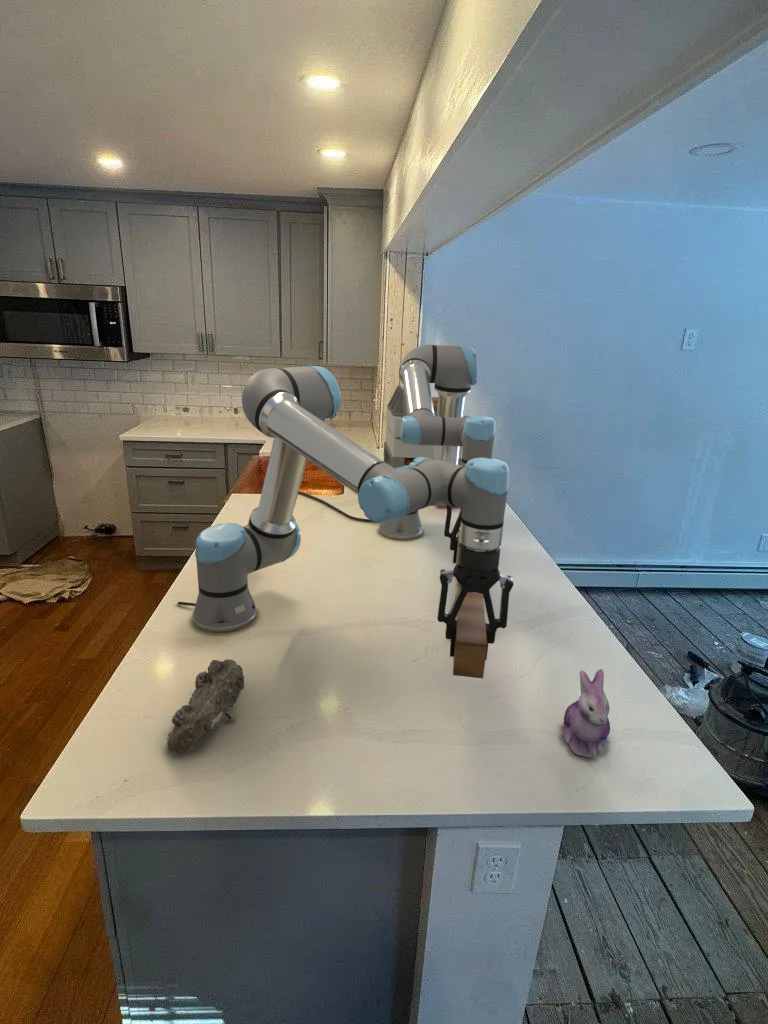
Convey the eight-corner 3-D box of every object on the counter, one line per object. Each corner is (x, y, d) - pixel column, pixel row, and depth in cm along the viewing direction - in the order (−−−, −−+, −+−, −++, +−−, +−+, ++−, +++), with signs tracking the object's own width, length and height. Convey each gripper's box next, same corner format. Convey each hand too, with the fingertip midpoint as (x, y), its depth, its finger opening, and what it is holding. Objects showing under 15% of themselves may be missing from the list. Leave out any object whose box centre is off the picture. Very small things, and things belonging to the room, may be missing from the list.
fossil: (192, 660, 117) (244, 628, 112) (224, 691, 120) (276, 661, 115) (142, 746, 98) (202, 712, 93) (182, 779, 101) (242, 748, 96)
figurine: (588, 767, 100) (602, 697, 95) (547, 730, 108) (559, 664, 103) (625, 751, 104) (641, 683, 99) (583, 716, 112) (596, 652, 107)
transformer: (382, 463, 289) (386, 382, 275) (445, 464, 293) (451, 384, 279) (390, 482, 257) (394, 392, 243) (460, 483, 261) (468, 394, 247)
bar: (455, 553, 157) (458, 529, 155) (475, 555, 157) (478, 530, 154) (453, 675, 104) (456, 640, 102) (483, 678, 104) (487, 644, 101)
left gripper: (427, 548, 100) (419, 660, 108) (534, 557, 98) (518, 671, 106) (429, 532, 107) (421, 638, 115) (529, 541, 105) (514, 648, 113)
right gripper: (437, 479, 140) (430, 565, 148) (513, 485, 138) (502, 571, 146) (438, 471, 147) (432, 553, 155) (510, 477, 145) (500, 559, 153)
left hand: (467, 654), depth 110 cm, fingers closed on bar, 5 cm apart
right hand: (466, 562), depth 151 cm, fingers closed on bar, 5 cm apart
